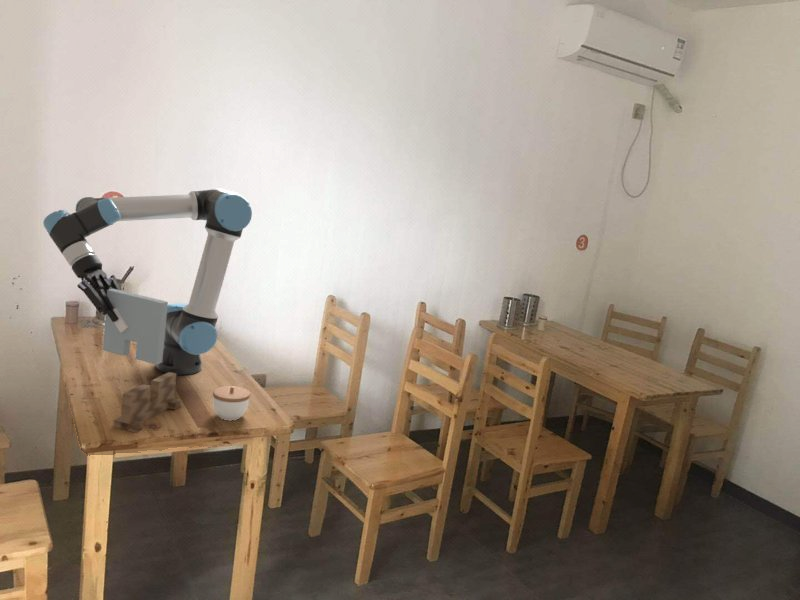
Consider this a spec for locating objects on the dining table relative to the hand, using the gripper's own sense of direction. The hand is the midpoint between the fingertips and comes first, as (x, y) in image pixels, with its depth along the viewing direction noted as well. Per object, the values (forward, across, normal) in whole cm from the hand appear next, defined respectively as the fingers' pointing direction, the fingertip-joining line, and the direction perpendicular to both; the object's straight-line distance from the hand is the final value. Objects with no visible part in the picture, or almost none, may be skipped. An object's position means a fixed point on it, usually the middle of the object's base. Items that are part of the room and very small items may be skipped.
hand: (128, 328), depth 186 cm
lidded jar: (+37, -11, +4) cm, 39 cm away
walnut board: (+24, +2, -9) cm, 26 cm away
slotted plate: (+7, 0, -4) cm, 8 cm away
